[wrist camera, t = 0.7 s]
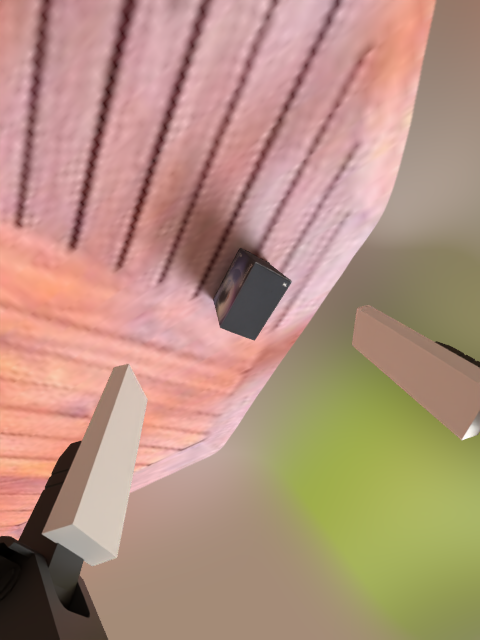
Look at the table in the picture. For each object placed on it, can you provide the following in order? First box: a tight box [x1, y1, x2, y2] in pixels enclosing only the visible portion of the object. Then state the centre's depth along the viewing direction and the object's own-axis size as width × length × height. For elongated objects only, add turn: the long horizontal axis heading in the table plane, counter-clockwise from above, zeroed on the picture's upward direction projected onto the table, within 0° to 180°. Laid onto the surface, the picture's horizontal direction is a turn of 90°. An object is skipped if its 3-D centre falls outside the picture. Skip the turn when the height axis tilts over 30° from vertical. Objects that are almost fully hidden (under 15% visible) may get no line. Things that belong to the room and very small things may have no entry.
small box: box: [213, 248, 291, 340], centre depth 35 cm, size 11×6×10 cm, turn 151°
